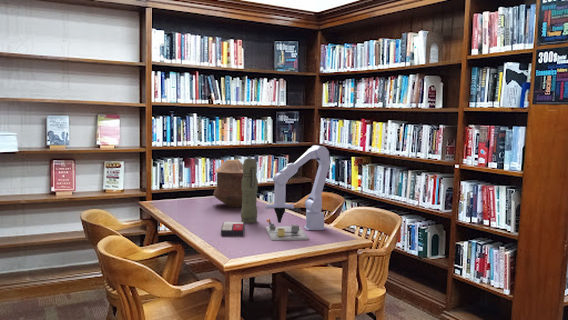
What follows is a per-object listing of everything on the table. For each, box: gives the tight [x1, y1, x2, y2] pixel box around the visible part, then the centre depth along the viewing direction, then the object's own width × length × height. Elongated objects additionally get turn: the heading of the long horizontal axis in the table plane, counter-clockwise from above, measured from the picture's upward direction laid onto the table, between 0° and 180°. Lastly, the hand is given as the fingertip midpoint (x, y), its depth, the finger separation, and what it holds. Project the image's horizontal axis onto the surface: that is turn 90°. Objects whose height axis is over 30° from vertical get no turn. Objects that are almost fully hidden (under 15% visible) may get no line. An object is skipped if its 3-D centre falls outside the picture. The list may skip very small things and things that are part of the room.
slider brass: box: [277, 228, 285, 236], centre depth 222 cm, size 3×3×3 cm
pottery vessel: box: [212, 159, 243, 208], centre depth 296 cm, size 26×26×30 cm
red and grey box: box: [220, 221, 245, 237], centre depth 232 cm, size 11×4×15 cm
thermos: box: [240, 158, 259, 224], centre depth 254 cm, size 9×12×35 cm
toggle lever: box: [266, 218, 273, 226], centre depth 236 cm, size 2×3×5 cm
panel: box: [265, 223, 309, 241], centre depth 231 cm, size 18×22×3 cm
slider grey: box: [290, 224, 299, 232], centre depth 231 cm, size 3×3×3 cm
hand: (279, 222), depth 237 cm, fingers closed
